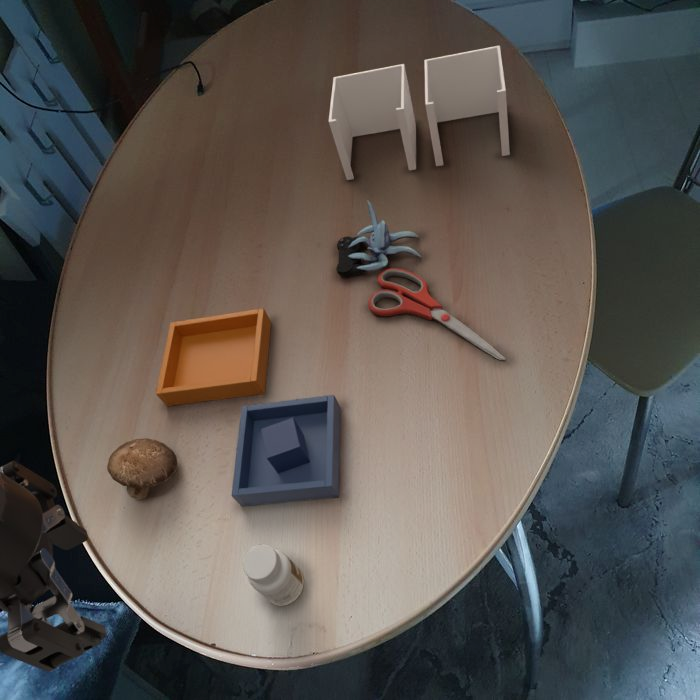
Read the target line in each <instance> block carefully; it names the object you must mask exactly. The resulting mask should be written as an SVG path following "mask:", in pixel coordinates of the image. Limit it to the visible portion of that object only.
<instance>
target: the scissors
mask: <svg viewBox="0 0 700 700" xmlns="http://www.w3.org/2000/svg"><path fill="white" fill-rule="evenodd" d="M392 276H394V277H395V276H397V277H402V278H405V279H409V280H411V281H412V282H414V283H416V284H418V285H419V286H420V288H419V290H416V291H413V290H411V289H409V288H407V287H405V286H403V285H401V284H398V283H395V282H393V281H387V280H386V279H388V278H389V277H392ZM377 283H378V285H379V286H380V287H381V288H382V289H380V290H377V291H376V292H374V293H373V294H371V296H370V298H369V299H368V309H369V311H370V312H371V313H372V314H374V315H376V316H379V317H392V316H396V315H401V314H411V315H414V316H417V317H420V318H423V319H426V320H429V321H433V320H435V321H436V322H438V323H440V324H441V325H443V326H444V327H446V328H447V329H448V330H450V331H451V332H453V333H455V334H456V335H458V336H459V337H461V338H462V339H464V340H465V341H467V342H469V343H471V344H472V345H473V346H475V347H476V348H479V350H481V351H483V352H484V353H487V354H488V355H490V356H491V357H493V358H495V360H498V361H506V357H505V356H504V355H502V354H501V353H500V352H499V351H498V350H496V349H495V347H493V346H492V345H491V344H489V342H487V341H486V340H485V339H484V338H482V337H481V336H480V335H478V334H477V333H476V332H475V331H473V330H472V329H471V328H469V326H467V325H465V324H464V323H462V322H461V321H460V320H459V319H458V318H456V317H455V316H454V315H452V314H451V313H449V312H448V311H446V310H444V309H443V305H441V304H440V303H439V302H438V301H436V300H435V299H434V298H433V297H432V296H431V295H430V292H429V286H428V283H427V282H426V280H425V279H424V278H422V276H420V275H417V274H416V273H414V272H411V271H409V270H406V269H402V268H397V267H396V268H395V267H391V268H387V269H386V268H385V269H384V270H383V271H381V272H380V273H379V275H378V277H377ZM383 298H390V299H394V300H396V301H398V302H399V305H396V306H393V307H390V308H380V307H377V306H376V303H377V301H379V300H380V299H383Z"/></svg>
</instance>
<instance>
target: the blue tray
mask: <svg viewBox="0 0 700 700" xmlns="http://www.w3.org/2000/svg"><path fill="white" fill-rule="evenodd" d="M290 418H294V420H295V421H296V423H297V425H298V426H299V428H300V429H301V431H302V433H303V435H304V439H305V443H306V447H307V451H308V455H309V459H310V462H309V463H306V464H303V465H301V466H298V467H295V468H292V469H289V470H287V471H284V472H281V473H277V471H276V470H275V469H274V468H273V466H272V465H271V464H270V462H269V461H268V460H267V458H266V453H265V448H264V443H263V438H262V433H261V429H262V428H265V427H268V426H271V425H274V424H276V423H279V422H282V421H285V420H288V419H290ZM340 461H341V405H340V403H339V402H338V400H337V398H336V395H335V394H329V395H321V396H320V395H319V396H313V397H304V398H295V399H289V400H280V401H273V402H263V403H257V404H249V405H242V406H241V408H240V417H239V426H238V436H237V443H236V453H235V461H234V469H233V470H234V471H233V478H232V487H231V497H232V499H234V500H235V502H237V504H239V505H240V507H249V506H261V505H270V504H272V505H273V504H280V503H293V502H302V501H303V502H304V501H314V500H323V499H334V498H340V474H341V473H340V463H341V462H340Z"/></svg>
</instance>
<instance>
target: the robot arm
mask: <svg viewBox="0 0 700 700" xmlns="http://www.w3.org/2000/svg"><path fill="white" fill-rule="evenodd" d="M57 496H58V490H57V488H56V486H55V485H54V484H53V483H52V482H50V481H48V480H47V479H45V478H44V477H42V476H40V475H38V474H37V473H35V472H34V471H32V470H30V469H29V468H27V467H26V466H24V465H22V464H21V463H19V462H17V461H16V460H11V461H10V462H8V463H6V464H4V465H2V466H0V609H1V610H2V611H3V612H6V614H7V629H8V631H6V632H5V633H2V634H0V653H1V654H2V655H4V656H7V657H9V658H12V659H14V660H16V661H20V662H22V663H25V664H27V665H29V666H32V667H35V668H36V669H37V668H38V669H39V670H42V671H45V672H47V673H50V672H52V671H54V670H56V669H57V668H58V667H60V666H62V665H64V664H66V663H68V662H70V661H72V660H73V659H77V658H79V657H81V656H83V655H84V653H86V652H87V651H90V650H91V649H93V648H95V647H97V646H99V645H101V644H102V643H103V640H105V639H106V638H107V637H108V633H107V629H106V626H105V625H103V624H101V623H99V622H96V621H94V620H92V619H90V618H88V617H86V616H83V615H82V616H80V614H79V613H78V611H76V609H75V608H74V606H73V605H72V603H71V601H72V598H73V592H72V590H71V589H70V588H69V586H68V585H67V583H66V582H65V580H64V579H63V577H62V576H61V575H60V573H59V571H58V570H57V568H56V561H55V560H54V547H53V545H54V546H56V547H58V548H60V549H62V550H64V551H68V550H71V549H74V548H75V547H77V546H79V545H81V544H83V543H85V542H87V541H88V540H89V536H88V532H87V531H88V530H87V529H85V528H83V527H82V526H81V525H79V524H78V523H77V522H76V521H75V520H73V519H72V518H70V517H69V516H68V515H66V513H65V510H64V508H63V507H62V506H61V505H60V504H55V501H54V498H56V497H57ZM49 590H50V591H51V593H52V594H53V596H52V597H50V598H48V599H46V600H44V601H42V602H40V603H38V604H36V605H32V604H33V603H35V602H36V601H37V600H38V599H40V597H42V596H43V595H45V593H47V592H48V591H49ZM55 615H59V617H61V619H62V620H63V622H61V623H59V624H57V625H55V626H54V625H52V624H51V622H50V620H49V618H51V617H53V616H55Z"/></svg>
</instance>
